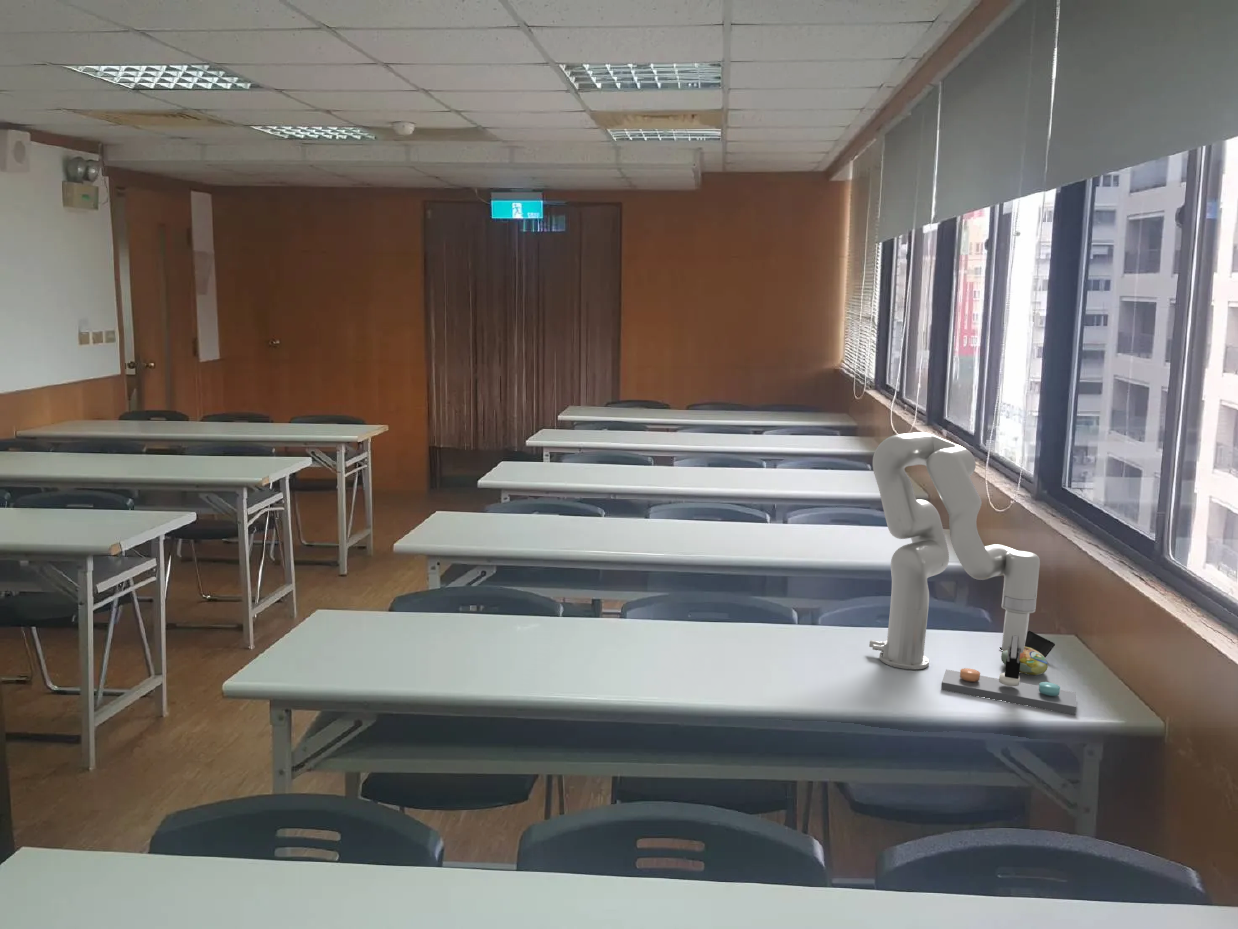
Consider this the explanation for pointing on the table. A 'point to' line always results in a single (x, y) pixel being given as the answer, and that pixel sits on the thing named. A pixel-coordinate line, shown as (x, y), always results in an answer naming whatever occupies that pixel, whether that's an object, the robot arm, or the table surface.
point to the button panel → (1010, 692)
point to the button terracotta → (970, 674)
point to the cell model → (1029, 661)
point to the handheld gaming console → (1038, 643)
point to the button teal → (1049, 688)
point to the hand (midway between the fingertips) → (1011, 676)
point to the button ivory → (1008, 680)
